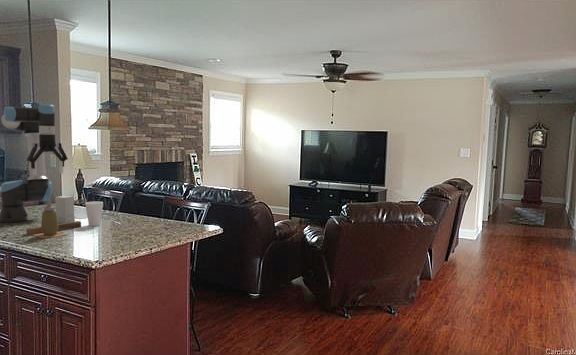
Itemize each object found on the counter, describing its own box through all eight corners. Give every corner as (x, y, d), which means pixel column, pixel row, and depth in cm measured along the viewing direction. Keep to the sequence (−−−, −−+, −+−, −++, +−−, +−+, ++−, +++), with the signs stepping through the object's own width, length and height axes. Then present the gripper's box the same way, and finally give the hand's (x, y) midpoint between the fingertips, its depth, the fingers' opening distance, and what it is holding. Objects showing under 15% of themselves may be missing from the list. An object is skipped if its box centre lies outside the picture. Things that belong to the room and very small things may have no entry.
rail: (26, 234, 246) (26, 228, 246) (78, 226, 268) (78, 220, 268) (41, 239, 236) (41, 233, 236) (94, 230, 258) (93, 225, 258)
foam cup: (87, 227, 266) (87, 204, 264) (84, 224, 273) (83, 202, 272) (105, 225, 271) (104, 203, 270) (101, 222, 279) (101, 201, 277)
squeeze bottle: (61, 234, 245) (59, 200, 243) (44, 237, 239) (43, 202, 238) (55, 232, 251) (54, 198, 249) (39, 234, 245) (37, 200, 243)
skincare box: (75, 222, 278) (74, 196, 276) (65, 224, 272) (64, 197, 270) (65, 221, 282) (64, 195, 280) (55, 222, 276) (54, 196, 274)
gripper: (25, 134, 236) (26, 176, 239) (73, 134, 256) (74, 173, 259) (18, 133, 241) (20, 174, 244) (66, 133, 260) (67, 171, 263)
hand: (48, 174), depth 251 cm, fingers open, 13 cm apart
